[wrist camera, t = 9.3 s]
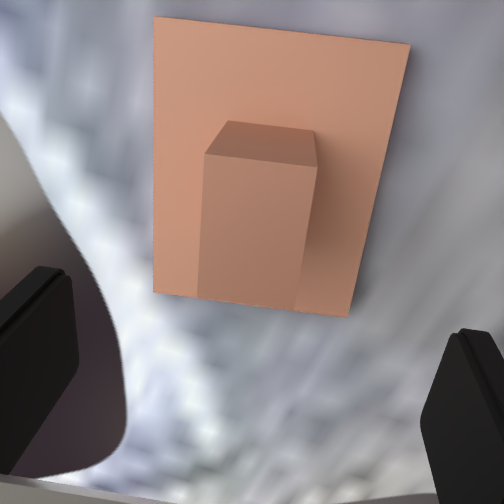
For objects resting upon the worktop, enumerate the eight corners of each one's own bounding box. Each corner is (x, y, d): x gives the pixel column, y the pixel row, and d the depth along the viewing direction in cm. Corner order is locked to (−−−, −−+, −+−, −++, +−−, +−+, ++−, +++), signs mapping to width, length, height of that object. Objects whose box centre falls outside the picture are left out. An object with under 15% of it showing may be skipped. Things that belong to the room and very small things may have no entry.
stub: (404, 43, 21) (452, 55, 14) (345, 306, 27) (360, 395, 21) (161, 16, 21) (101, 15, 15) (159, 281, 27) (116, 361, 21)
